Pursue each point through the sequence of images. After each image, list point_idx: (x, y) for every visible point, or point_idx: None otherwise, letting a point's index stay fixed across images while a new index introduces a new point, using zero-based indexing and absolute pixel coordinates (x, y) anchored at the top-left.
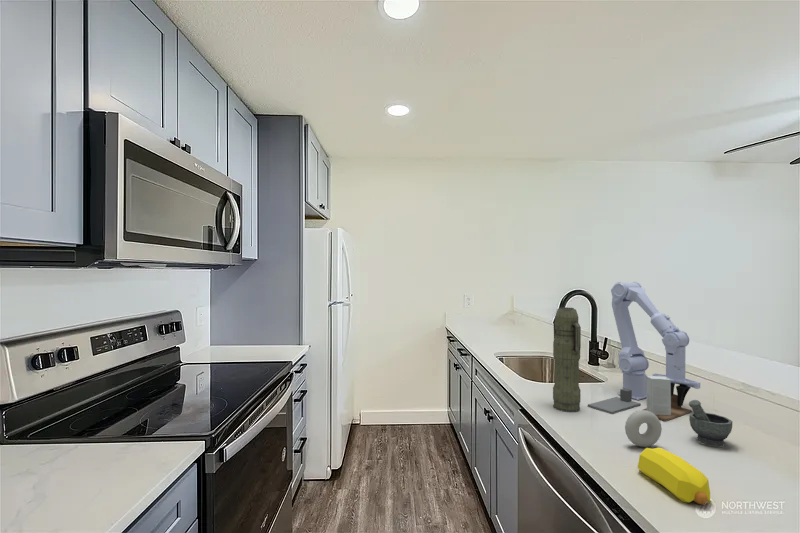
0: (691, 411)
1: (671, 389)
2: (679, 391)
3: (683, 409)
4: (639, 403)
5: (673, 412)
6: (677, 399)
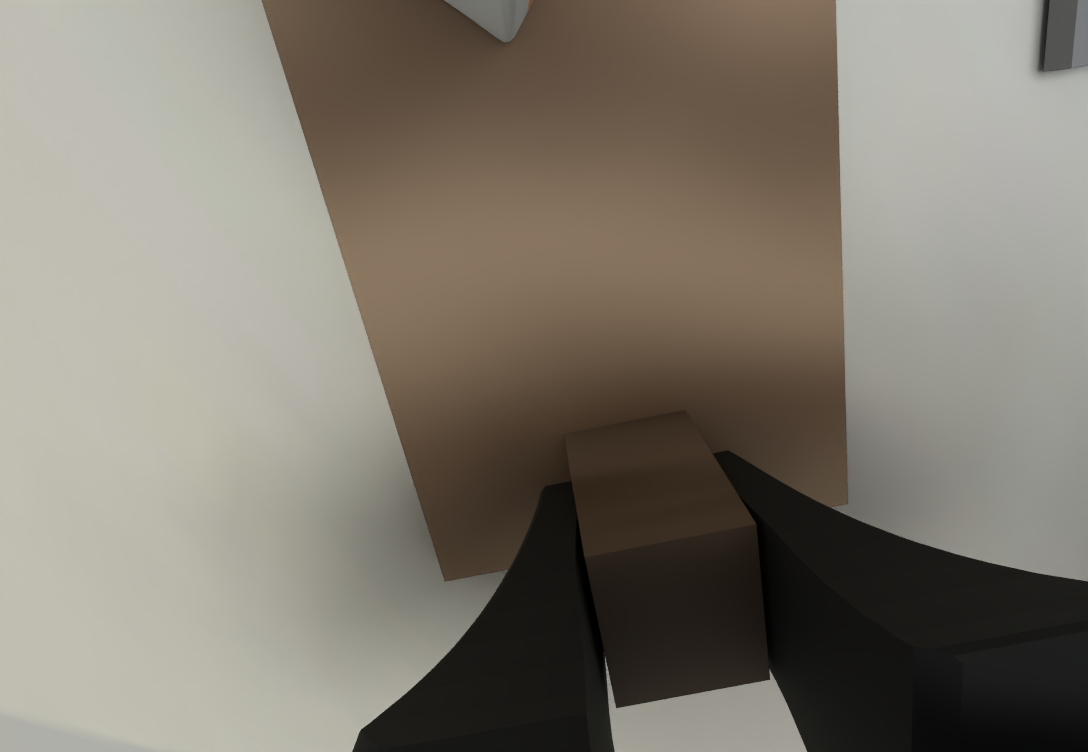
0: (445, 560)
1: (828, 718)
2: (509, 665)
3: (504, 494)
4: (1083, 31)
5: (439, 179)
6: (581, 535)
